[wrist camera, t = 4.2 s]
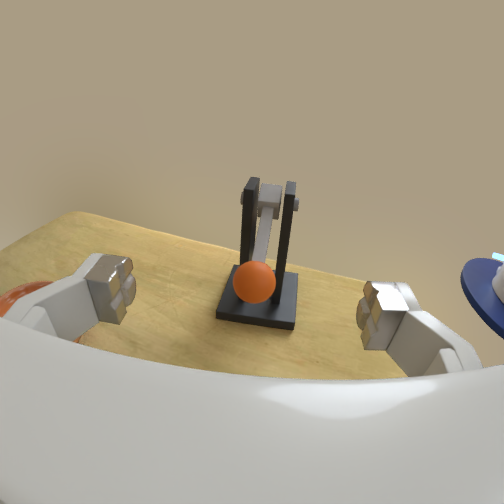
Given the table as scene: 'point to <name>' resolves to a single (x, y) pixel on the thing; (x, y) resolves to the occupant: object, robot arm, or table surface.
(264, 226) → the lever
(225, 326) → the table surface
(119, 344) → the table surface
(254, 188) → the switch base
